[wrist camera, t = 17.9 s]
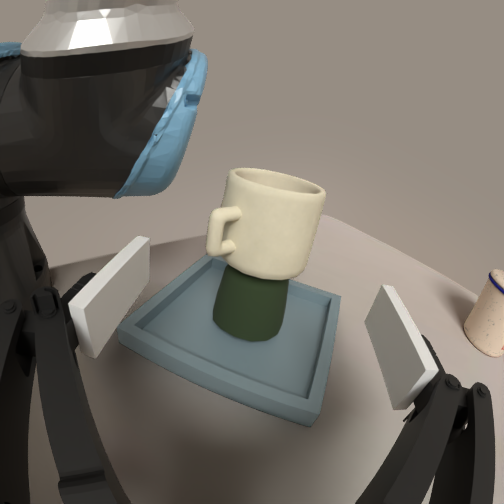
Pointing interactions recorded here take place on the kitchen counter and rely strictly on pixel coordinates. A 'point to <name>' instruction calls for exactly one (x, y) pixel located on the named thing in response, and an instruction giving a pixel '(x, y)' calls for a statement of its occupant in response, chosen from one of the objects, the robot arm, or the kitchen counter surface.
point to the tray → (239, 344)
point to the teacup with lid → (488, 317)
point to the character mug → (261, 247)
